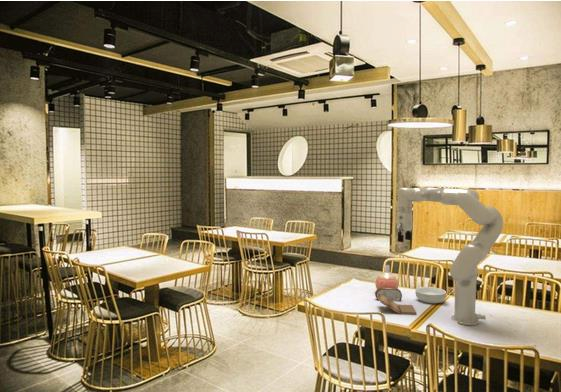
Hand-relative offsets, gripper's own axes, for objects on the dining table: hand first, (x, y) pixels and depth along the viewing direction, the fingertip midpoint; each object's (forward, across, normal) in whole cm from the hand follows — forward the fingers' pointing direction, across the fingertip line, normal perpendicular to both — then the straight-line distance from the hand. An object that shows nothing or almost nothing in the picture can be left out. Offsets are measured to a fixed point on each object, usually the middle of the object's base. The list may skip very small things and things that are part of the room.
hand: (404, 240), depth 223 cm
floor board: (+37, -12, 0) cm, 39 cm away
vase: (+38, +17, +18) cm, 45 cm away
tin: (+38, +2, +10) cm, 39 cm away
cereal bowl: (+37, +18, -8) cm, 42 cm away
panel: (+33, -13, +2) cm, 36 cm away
